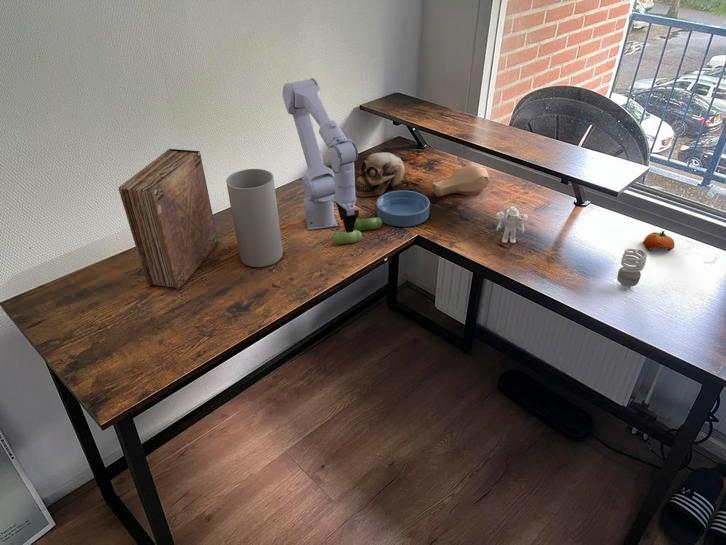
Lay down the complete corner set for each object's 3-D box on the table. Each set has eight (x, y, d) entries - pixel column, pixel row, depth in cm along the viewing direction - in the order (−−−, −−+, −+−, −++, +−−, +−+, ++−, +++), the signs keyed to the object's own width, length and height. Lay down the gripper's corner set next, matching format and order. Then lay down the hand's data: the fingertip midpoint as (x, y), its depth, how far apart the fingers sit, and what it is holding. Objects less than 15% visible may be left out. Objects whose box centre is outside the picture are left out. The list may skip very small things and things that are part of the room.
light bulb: (631, 281, 149) (642, 243, 142) (640, 294, 144) (653, 255, 137) (610, 282, 149) (620, 244, 142) (618, 295, 144) (630, 256, 137)
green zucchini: (352, 234, 173) (352, 224, 170) (350, 228, 175) (349, 218, 173) (383, 229, 174) (383, 219, 172) (380, 224, 177) (380, 214, 175)
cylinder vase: (236, 250, 167) (222, 173, 152) (277, 241, 170) (267, 165, 156) (244, 272, 157) (230, 192, 143) (287, 262, 160) (278, 184, 146)
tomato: (683, 246, 159) (674, 232, 156) (667, 264, 160) (657, 251, 156) (661, 237, 166) (651, 223, 162) (645, 254, 167) (635, 241, 163)
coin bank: (348, 194, 194) (350, 157, 187) (367, 179, 208) (369, 144, 202) (391, 203, 189) (394, 165, 183) (406, 187, 203) (410, 151, 197)
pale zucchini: (334, 247, 167) (333, 237, 164) (331, 241, 169) (331, 231, 167) (366, 242, 168) (366, 232, 166) (363, 236, 171) (363, 226, 169)
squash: (494, 194, 193) (496, 173, 186) (440, 209, 190) (440, 188, 184) (481, 177, 200) (482, 156, 194) (428, 191, 198) (428, 170, 191)
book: (177, 291, 150) (151, 191, 133) (147, 287, 152) (117, 188, 135) (218, 242, 170) (200, 150, 153) (191, 239, 172) (169, 147, 155)
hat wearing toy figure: (523, 238, 168) (529, 203, 161) (524, 245, 165) (530, 209, 158) (493, 236, 170) (497, 201, 163) (493, 243, 166) (497, 207, 160)
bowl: (384, 231, 174) (384, 218, 171) (371, 206, 187) (370, 194, 185) (436, 223, 177) (437, 211, 174) (419, 199, 190) (420, 187, 188)
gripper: (326, 175, 163) (329, 215, 170) (335, 196, 151) (338, 239, 159) (350, 172, 164) (351, 212, 172) (361, 193, 152) (362, 236, 160)
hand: (346, 225), depth 165 cm, fingers open, 7 cm apart
